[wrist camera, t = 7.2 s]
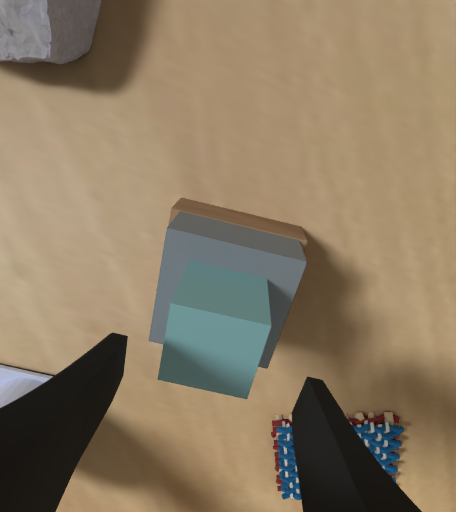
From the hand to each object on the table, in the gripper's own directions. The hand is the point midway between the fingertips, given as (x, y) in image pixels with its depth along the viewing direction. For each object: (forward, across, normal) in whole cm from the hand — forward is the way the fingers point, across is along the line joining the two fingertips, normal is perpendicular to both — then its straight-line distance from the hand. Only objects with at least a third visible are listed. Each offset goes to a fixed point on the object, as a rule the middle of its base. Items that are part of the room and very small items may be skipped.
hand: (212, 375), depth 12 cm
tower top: (+8, 0, 0) cm, 8 cm away
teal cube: (+5, 0, 0) cm, 5 cm away
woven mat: (+11, -13, +16) cm, 23 cm away
